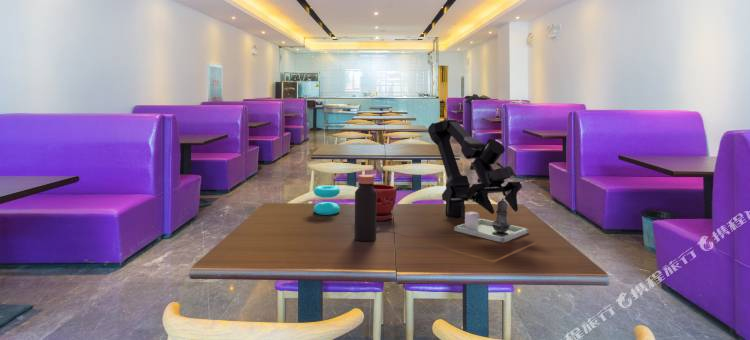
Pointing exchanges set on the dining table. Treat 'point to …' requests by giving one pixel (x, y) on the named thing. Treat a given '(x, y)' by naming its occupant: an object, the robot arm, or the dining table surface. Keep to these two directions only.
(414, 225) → the dining table surface
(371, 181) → the bottle
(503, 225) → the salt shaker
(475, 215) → the white smooth curved piece
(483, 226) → the tray
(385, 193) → the plant pot
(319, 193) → the donuts
